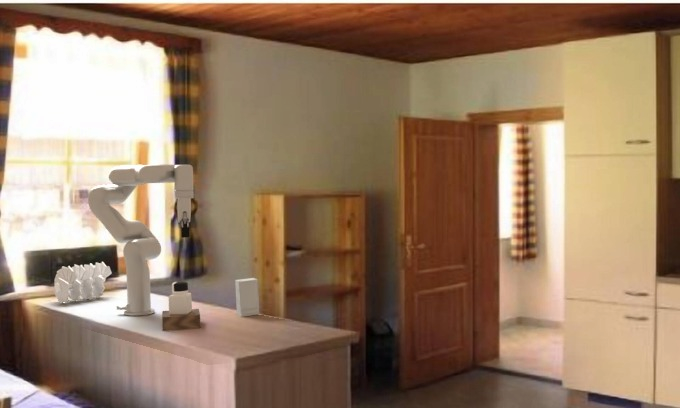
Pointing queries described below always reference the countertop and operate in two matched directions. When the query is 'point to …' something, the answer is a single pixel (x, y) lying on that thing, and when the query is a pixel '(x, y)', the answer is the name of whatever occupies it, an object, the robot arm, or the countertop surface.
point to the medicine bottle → (180, 299)
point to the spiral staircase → (80, 281)
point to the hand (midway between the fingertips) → (185, 236)
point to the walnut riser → (181, 320)
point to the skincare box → (247, 297)
